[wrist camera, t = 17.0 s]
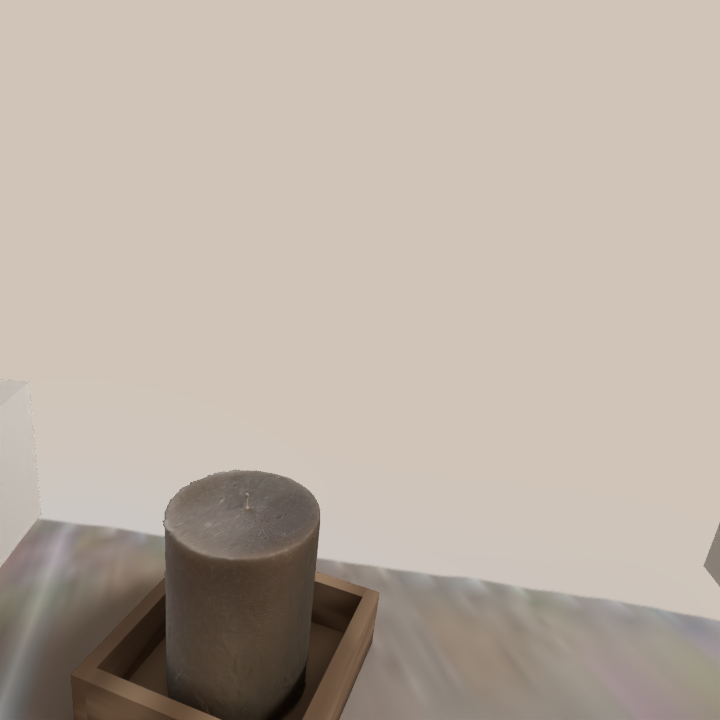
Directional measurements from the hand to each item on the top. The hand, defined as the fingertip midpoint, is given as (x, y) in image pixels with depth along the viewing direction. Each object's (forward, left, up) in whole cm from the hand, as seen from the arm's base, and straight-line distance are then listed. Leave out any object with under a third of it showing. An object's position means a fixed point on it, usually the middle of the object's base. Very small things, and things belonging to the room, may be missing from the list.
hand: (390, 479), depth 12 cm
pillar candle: (+13, -20, -31) cm, 39 cm away
